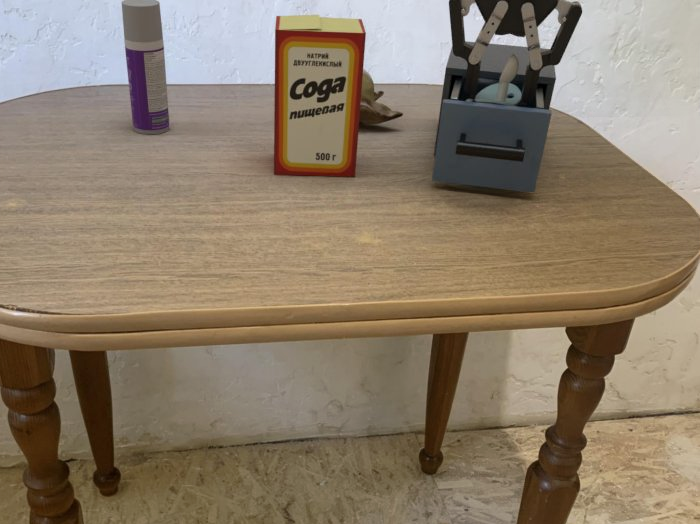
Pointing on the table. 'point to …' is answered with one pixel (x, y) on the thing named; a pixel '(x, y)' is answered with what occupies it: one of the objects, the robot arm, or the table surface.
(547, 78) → the cabinet
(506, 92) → the pacifier
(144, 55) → the container
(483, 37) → the robot arm
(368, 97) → the ceramic sculpture
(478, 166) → the drawer
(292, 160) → the baking soda box
